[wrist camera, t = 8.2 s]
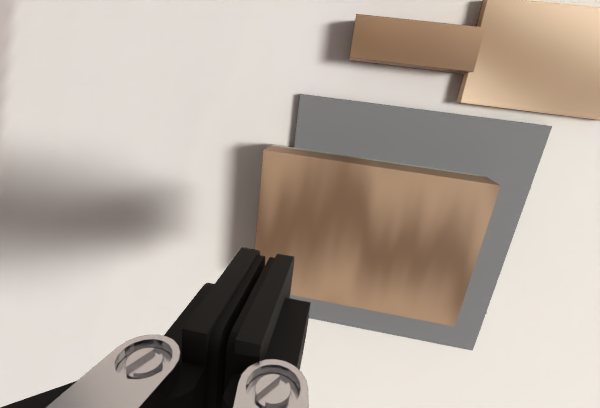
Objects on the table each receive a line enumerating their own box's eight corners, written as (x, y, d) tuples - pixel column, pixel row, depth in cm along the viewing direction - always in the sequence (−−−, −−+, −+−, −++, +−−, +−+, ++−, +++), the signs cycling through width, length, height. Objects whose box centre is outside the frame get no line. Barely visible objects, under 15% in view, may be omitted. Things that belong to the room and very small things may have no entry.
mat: (301, 94, 16) (300, 93, 16) (548, 125, 15) (552, 126, 14) (276, 308, 20) (275, 311, 19) (470, 346, 18) (472, 350, 18)
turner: (360, -12, 14) (361, -21, 13) (640, 16, 13) (667, 8, 12) (345, 88, 15) (344, 87, 14) (599, 120, 14) (620, 121, 13)
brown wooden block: (263, 150, 15) (500, 185, 14) (272, 144, 16) (484, 175, 15) (251, 287, 17) (454, 326, 16) (260, 269, 19) (445, 304, 18)
